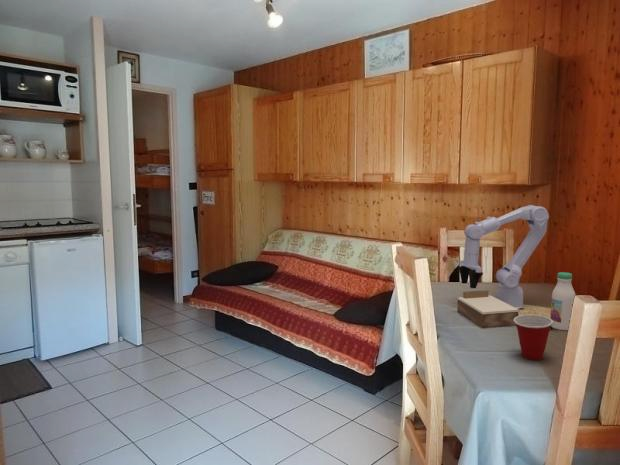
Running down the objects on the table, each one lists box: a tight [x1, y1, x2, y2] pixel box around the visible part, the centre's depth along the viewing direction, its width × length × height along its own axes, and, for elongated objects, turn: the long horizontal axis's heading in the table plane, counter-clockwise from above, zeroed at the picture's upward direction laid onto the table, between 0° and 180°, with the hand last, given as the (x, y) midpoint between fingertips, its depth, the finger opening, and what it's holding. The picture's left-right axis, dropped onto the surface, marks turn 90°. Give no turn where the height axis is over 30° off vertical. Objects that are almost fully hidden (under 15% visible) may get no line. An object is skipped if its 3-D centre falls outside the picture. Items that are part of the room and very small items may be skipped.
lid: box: [457, 289, 520, 314], centre depth 173 cm, size 14×20×3 cm
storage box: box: [457, 299, 520, 329], centre depth 174 cm, size 14×20×5 cm
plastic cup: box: [514, 313, 553, 361], centre depth 137 cm, size 11×11×12 cm
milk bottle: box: [550, 271, 576, 331], centre depth 160 cm, size 8×8×20 cm
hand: (468, 285), depth 186 cm, fingers open, 7 cm apart
